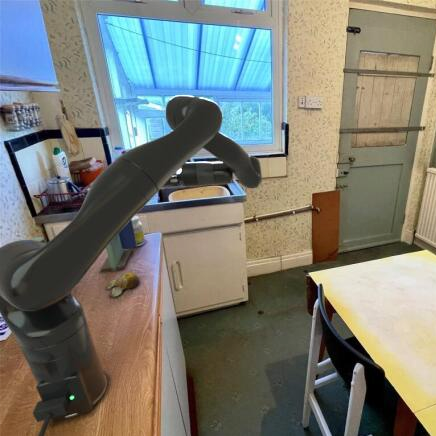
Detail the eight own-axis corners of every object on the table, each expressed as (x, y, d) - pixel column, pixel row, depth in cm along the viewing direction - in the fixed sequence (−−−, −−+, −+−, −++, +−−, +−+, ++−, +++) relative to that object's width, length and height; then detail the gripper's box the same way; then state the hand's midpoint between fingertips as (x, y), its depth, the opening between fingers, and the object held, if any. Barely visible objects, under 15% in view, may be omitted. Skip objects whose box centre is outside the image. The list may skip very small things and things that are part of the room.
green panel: (144, 250, 108) (129, 173, 96) (137, 268, 97) (119, 183, 86) (112, 254, 105) (92, 174, 93) (101, 272, 95) (77, 184, 83)
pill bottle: (128, 241, 114) (122, 216, 110) (145, 238, 117) (140, 213, 113) (127, 248, 109) (121, 222, 105) (145, 245, 112) (140, 219, 107)
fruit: (106, 284, 88) (104, 274, 87) (136, 275, 93) (133, 266, 92) (111, 298, 83) (109, 288, 81) (142, 288, 88) (140, 278, 86)
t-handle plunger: (125, 241, 103) (111, 181, 94) (139, 240, 104) (126, 180, 95) (118, 252, 96) (103, 188, 87) (134, 250, 97) (120, 187, 88)
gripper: (198, 157, 95) (145, 158, 91) (196, 167, 83) (135, 169, 79) (200, 179, 98) (149, 181, 94) (199, 192, 86) (140, 195, 82)
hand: (143, 175), depth 86 cm, fingers open, 8 cm apart
